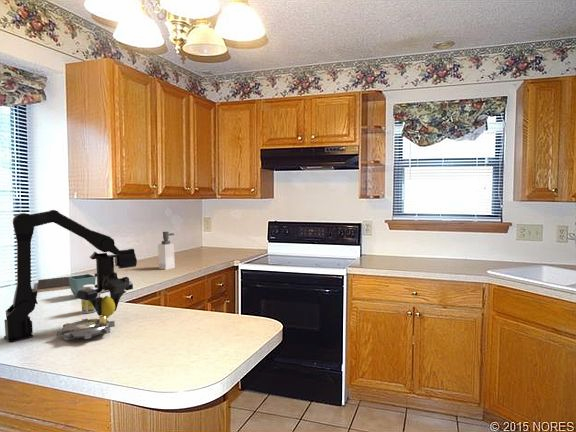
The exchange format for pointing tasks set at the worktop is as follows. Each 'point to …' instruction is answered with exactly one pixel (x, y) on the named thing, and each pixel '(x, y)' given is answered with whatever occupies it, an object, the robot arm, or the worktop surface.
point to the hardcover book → (53, 284)
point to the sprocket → (85, 328)
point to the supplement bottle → (87, 301)
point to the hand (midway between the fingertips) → (107, 313)
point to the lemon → (107, 306)
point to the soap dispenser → (166, 253)
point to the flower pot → (80, 282)
